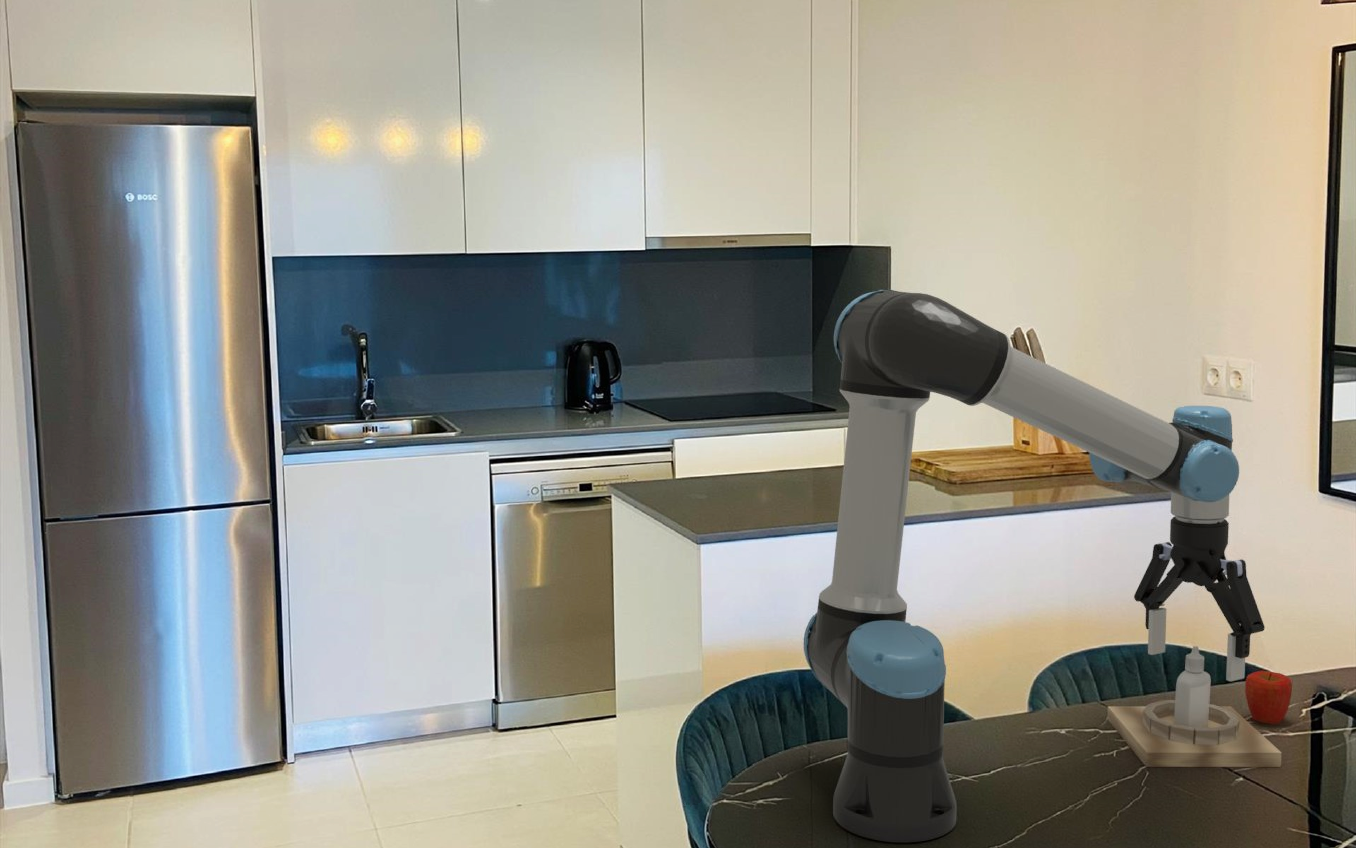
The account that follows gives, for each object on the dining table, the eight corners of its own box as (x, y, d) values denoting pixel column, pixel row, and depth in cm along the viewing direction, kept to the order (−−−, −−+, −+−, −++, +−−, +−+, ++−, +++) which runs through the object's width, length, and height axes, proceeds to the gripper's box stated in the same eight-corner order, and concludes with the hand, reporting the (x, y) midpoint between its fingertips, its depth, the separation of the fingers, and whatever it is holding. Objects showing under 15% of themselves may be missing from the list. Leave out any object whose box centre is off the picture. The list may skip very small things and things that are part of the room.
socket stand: (1146, 766, 178) (1147, 738, 178) (1107, 719, 196) (1108, 693, 196) (1280, 767, 178) (1282, 738, 177) (1229, 719, 196) (1231, 693, 195)
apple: (1255, 730, 191) (1257, 680, 190) (1236, 715, 197) (1238, 666, 196) (1298, 729, 191) (1300, 679, 190) (1277, 714, 198) (1280, 666, 197)
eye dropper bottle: (1217, 733, 185) (1222, 651, 183) (1179, 735, 184) (1184, 653, 182) (1201, 720, 189) (1206, 640, 187) (1164, 723, 188) (1169, 643, 186)
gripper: (1296, 530, 173) (1290, 686, 176) (1148, 500, 195) (1144, 639, 198) (1258, 537, 170) (1252, 696, 173) (1111, 505, 192) (1108, 647, 195)
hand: (1194, 666), depth 186 cm, fingers open, 13 cm apart
